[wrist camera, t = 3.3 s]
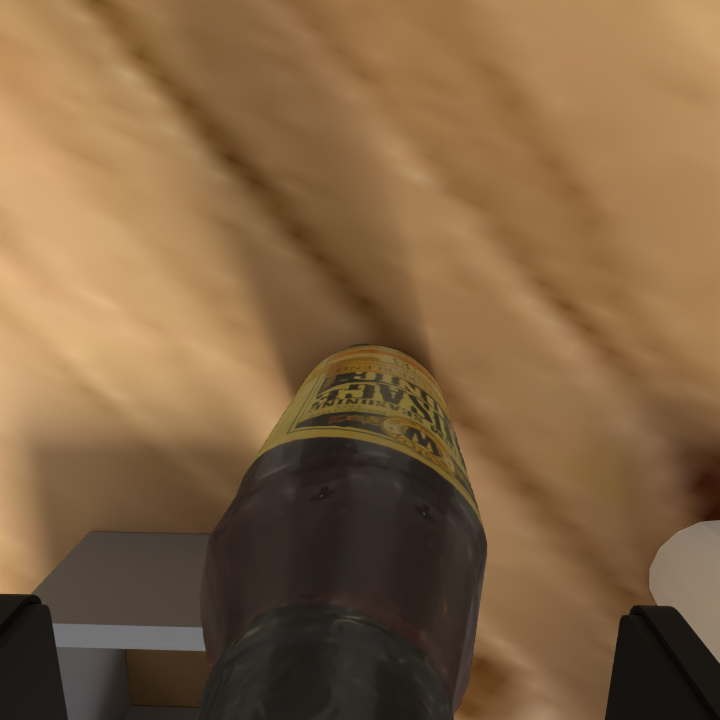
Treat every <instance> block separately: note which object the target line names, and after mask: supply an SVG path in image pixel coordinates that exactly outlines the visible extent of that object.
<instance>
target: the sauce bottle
mask: <svg viewBox="0 0 720 720" xmlns="http://www.w3.org/2000/svg"><path fill="white" fill-rule="evenodd" d="M486 557H487V541H486V537H485V533H484V528H483V525H482V521H481V517H480V514H479V510H478V506H477V503H476V500H475V497H474V494H473V490H472V488H471V484H470V481H469V478H468V475H467V470H466V467H465V463H464V460H463V457H462V454H461V452H460V448H459V445H458V442H457V437H456V434H455V431H454V429H453V425H452V421H451V418H450V415H449V410H448V407H447V404H446V401H445V398H444V396H443V393H442V391H441V389H440V387H439V385H438V384H437V382H436V381H435V379H434V378H433V377H432V375H431V374H430V373H429V372H428V371H427V370H426V369H425V368H424V367H423V365H421V364H419V363H418V362H417V361H415V359H414V358H413V357H412V356H410V355H409V354H407V353H405V352H402V351H400V350H396V349H392V348H387V347H386V346H379V345H368V344H357V345H354V346H351V347H350V348H348V349H345V350H342V351H339V352H337V353H335V354H333V355H331V356H329V357H328V358H326V359H324V360H323V361H322V362H321V363H320V364H318V365H317V366H316V367H315V368H314V369H313V371H312V372H311V373H310V374H309V375H308V377H307V378H306V379H305V381H304V382H303V384H302V386H301V387H300V389H299V390H298V392H297V394H296V395H295V397H294V398H293V400H292V401H291V403H290V404H289V406H288V407H287V409H286V411H285V412H284V414H283V415H282V417H281V418H280V420H279V421H278V423H277V424H276V426H275V427H274V429H273V431H272V432H271V434H270V435H269V437H268V438H267V440H266V441H265V443H264V445H263V446H262V448H261V449H260V451H259V453H258V454H257V456H256V458H255V459H254V461H253V463H252V464H251V466H250V467H249V469H248V470H247V472H246V474H245V476H244V478H243V480H242V482H241V484H240V487H239V490H238V492H237V495H236V497H235V499H234V500H233V502H232V504H231V505H230V507H229V508H228V510H227V511H226V513H225V514H224V516H223V517H222V519H221V520H220V522H219V523H218V525H217V526H216V528H215V529H214V531H213V532H212V533H211V535H210V537H209V539H208V545H207V551H206V556H205V562H204V567H203V573H202V579H201V589H200V594H199V601H200V618H201V624H202V629H203V639H204V645H205V649H206V653H207V659H208V663H209V665H210V667H211V668H212V670H211V672H210V675H209V677H208V680H207V682H206V685H205V688H204V690H203V693H202V696H201V698H200V701H199V708H198V712H197V715H196V720H454V717H453V716H454V713H455V712H456V710H457V708H458V707H459V706H460V705H461V701H462V697H463V695H464V693H465V691H466V688H467V685H468V683H469V679H470V671H471V664H472V656H473V649H474V642H475V635H476V627H477V620H478V613H479V606H480V599H481V592H482V585H483V578H484V571H485V564H486Z"/></svg>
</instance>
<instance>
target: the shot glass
mask: <svg viewBox="0 0 720 720" xmlns="http://www.w3.org/2000/svg"><path fill="white" fill-rule="evenodd" d="M649 590H650V592H651V594H652V596H653V598H654V600H655V602H656V604H657V606H672V607H674V608H675V609H677V610H678V611H679V612H680V614H681V615H682V616H683V617H684V619H685V620H686V621H687V623H688V624H689V625H690V626H691V628H692V629H693V630H694V631H695V633H696V634H697V635H698V637H699V638H700V639H701V640H702V642H703V643H704V644H705V645H706V647H707V648H708V649H709V650H710V652H711V653H712V654H713V656H714V657H715V658H716V659H717V661H718V662H719V663H720V520H715V521H703V522H698V523H696V524H694V525H692V526H689V527H687V528H685V529H682V530H680V531H678V532H676V533H675V534H674V535H673V536H672V537H671V538H670V539H669V540H668V541H667V542H665V543H664V544H663V545H662V546H661V547H660V548H659V550H658V552H657V554H656V556H655V558H654V560H653V562H652V564H651V566H650V568H649Z"/></svg>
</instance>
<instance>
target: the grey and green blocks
mask: <svg viewBox="0 0 720 720" xmlns="http://www.w3.org/2000/svg"><path fill="white" fill-rule="evenodd" d="M210 535H211V534H173V533H129V532H89V533H88V534H87V535H86V537H85V538H84V539H83V540H82V541H81V542H80V543H79V544H78V545H77V546H76V547H75V548H74V549H73V550H72V551H71V552H70V553H69V554H68V556H67V557H66V558H65V559H64V560H63V561H62V562H61V563H60V564H59V565H58V566H57V567H56V568H55V569H54V570H53V571H52V572H51V573H50V575H49V576H48V577H47V578H46V579H45V580H44V581H43V582H42V583H41V584H40V585H39V586H38V587H37V588H36V589H35V590H34V591H33V592H32V594H31V595H37V596H38V597H39V598H40V599H41V602H42V604H44V605H47V606H48V607H49V609H50V612H51V618H52V624H53V630H54V636H55V642H56V648H57V655H58V661H59V667H60V673H61V679H62V685H63V691H64V697H65V703H66V709H67V715H68V720H196V715H197V712H198V708H186V707H155V706H131V700H130V691H129V682H128V674H127V665H126V657H125V649H150V650H184V651H206V649H205V645H204V639H203V629H202V624H201V618H200V601H199V594H200V589H201V579H202V573H203V567H204V562H205V556H206V551H207V545H208V539H209V537H210Z"/></svg>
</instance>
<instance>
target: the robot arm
mask: <svg viewBox="0 0 720 720" xmlns="http://www.w3.org/2000/svg"><path fill="white" fill-rule="evenodd" d="M0 720H68V715H67V709H66V703H65V697H64V691H63V685H62V679H61V673H60V667H59V661H58V655H57V648H56V642H55V636H54V630H53V624H52V618H51V612H50V609H49V607H48V606H47V605H44V604H42V602H41V599H40V598H39V597H38V596H37V595H29V594H0ZM605 720H720V663H719V662H718V661H717V659H716V658H715V657H714V656H713V654H712V653H711V652H710V650H709V649H708V648H707V647H706V645H705V644H704V643H703V642H702V640H701V639H700V638H699V637H698V635H697V634H696V633H695V631H694V630H693V629H692V628H691V626H690V625H689V624H688V623H687V621H686V620H685V619H684V617H683V616H682V615H681V614H680V612H679V611H678V610H677V609H675V608H674V607H672V606H647V605H636V606H633V608H632V609H631V611H630V615H623V616H622V617H621V620H620V624H619V631H618V637H617V644H616V650H615V657H614V663H613V670H612V677H611V683H610V690H609V696H608V703H607V709H606V716H605Z"/></svg>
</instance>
